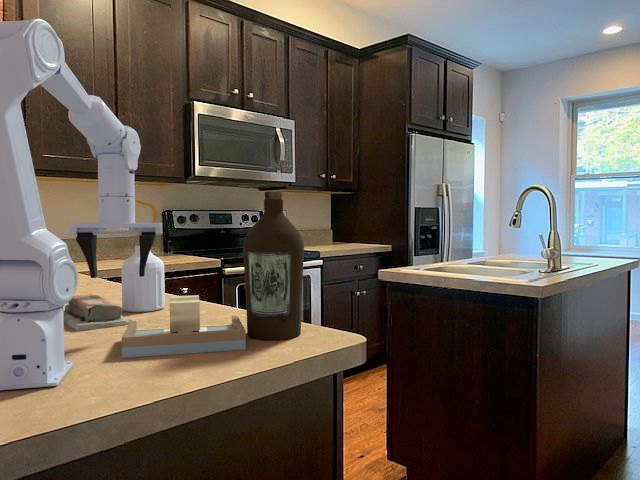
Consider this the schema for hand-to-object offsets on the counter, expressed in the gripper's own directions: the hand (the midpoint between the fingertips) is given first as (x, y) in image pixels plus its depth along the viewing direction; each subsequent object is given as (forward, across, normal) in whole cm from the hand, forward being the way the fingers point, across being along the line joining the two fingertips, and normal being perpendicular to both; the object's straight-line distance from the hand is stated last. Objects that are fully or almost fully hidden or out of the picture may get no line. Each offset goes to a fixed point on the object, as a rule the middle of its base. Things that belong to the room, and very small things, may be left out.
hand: (118, 276), depth 85 cm
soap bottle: (+11, -2, -27) cm, 29 cm away
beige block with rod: (+9, -11, +8) cm, 16 cm away
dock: (+10, -11, +8) cm, 17 cm away
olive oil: (+11, -26, +5) cm, 29 cm away
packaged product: (+11, +7, -17) cm, 21 cm away
